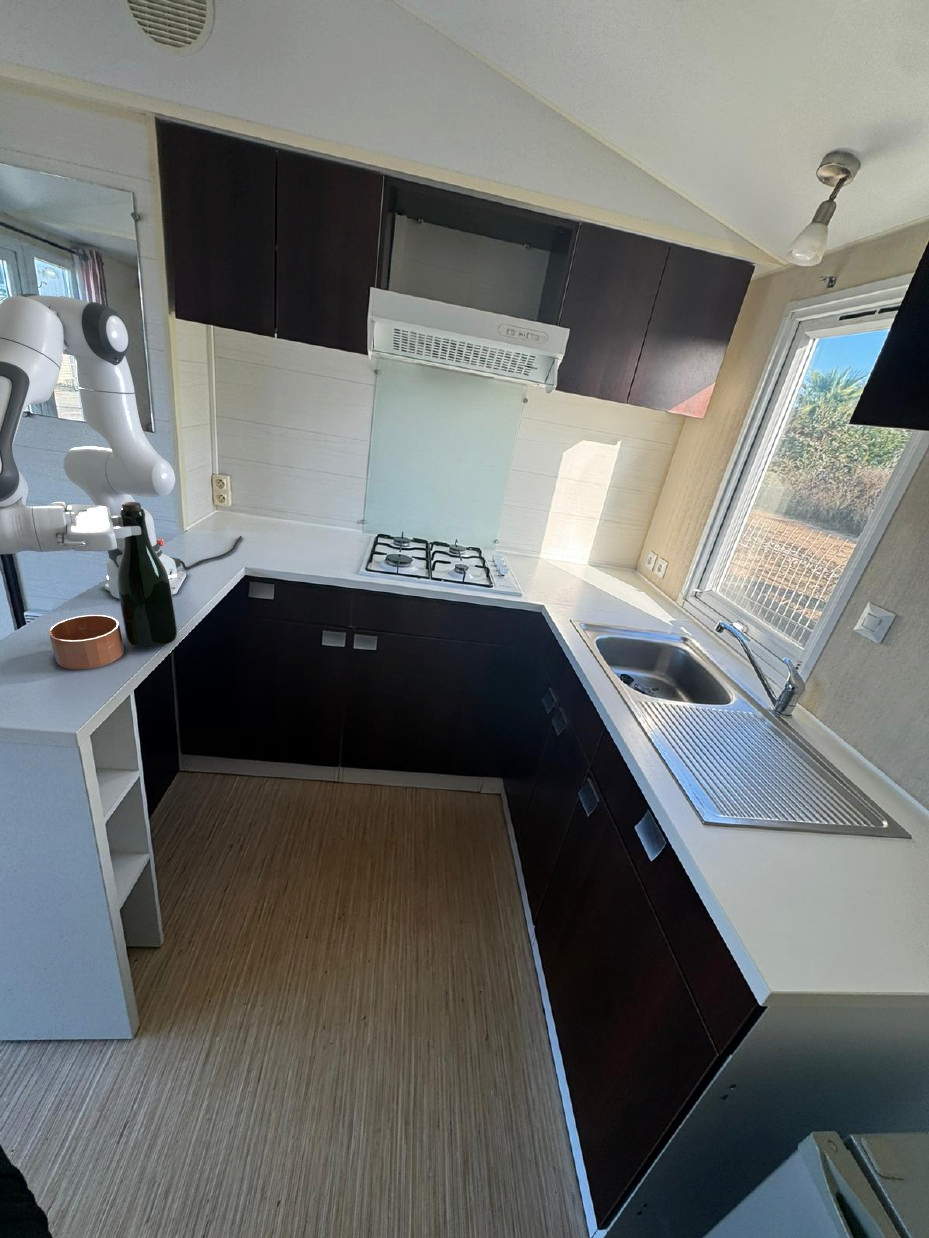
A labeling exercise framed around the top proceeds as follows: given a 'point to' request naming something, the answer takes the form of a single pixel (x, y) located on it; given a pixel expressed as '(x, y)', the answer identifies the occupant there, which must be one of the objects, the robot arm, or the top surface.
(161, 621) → the green wine bottle
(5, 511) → the robot arm
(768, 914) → the top surface
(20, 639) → the top surface
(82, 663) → the copper bottle coaster
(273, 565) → the top surface
